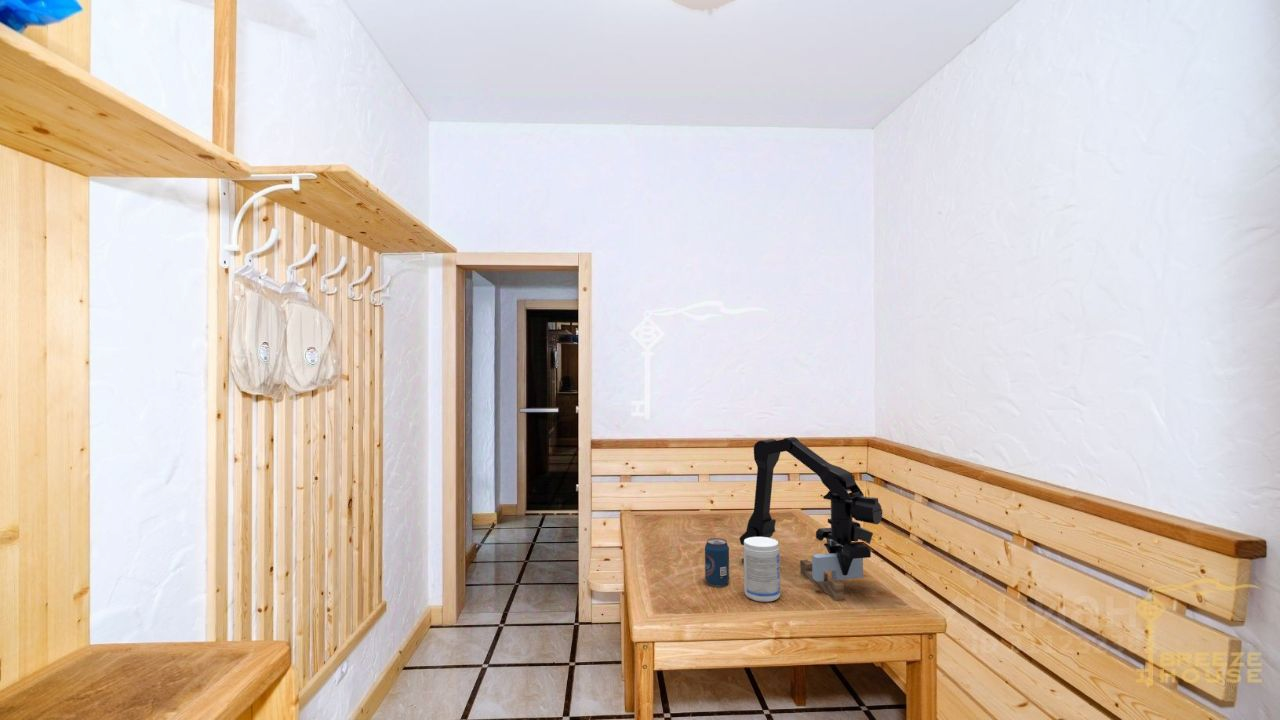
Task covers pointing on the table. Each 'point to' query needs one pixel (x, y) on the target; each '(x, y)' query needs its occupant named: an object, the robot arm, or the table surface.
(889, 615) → the table surface
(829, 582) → the notched rail
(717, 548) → the soda can
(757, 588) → the supplement tub
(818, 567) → the light blue slab
